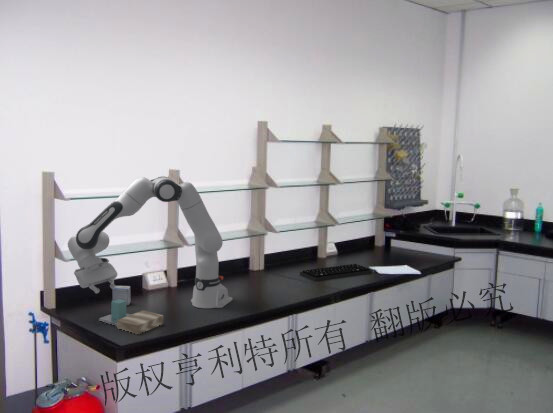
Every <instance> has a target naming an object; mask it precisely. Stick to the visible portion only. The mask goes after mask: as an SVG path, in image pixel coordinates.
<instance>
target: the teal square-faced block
mask: <svg viewBox="0 0 553 413" xmlns="http://www.w3.org/2000/svg"><path fill="white" fill-rule="evenodd" d="M110 306H111V307H110V308H111V309H110V312H111V318H114V319H118V320H119V319H121V318H124V317H126V313H127V305H126V301H124V300H120V299H118V300H115V301H113V300H111V305H110Z"/></svg>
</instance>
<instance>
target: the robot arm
mask: <svg viewBox="0 0 553 413" xmlns="http://www.w3.org/2000/svg"><path fill="white" fill-rule="evenodd" d="M152 198H156V199H157V200H159V201H160V202H164V203H170V202H177V203H178V205H179V207H180V210H181V212H182V214H183V216H184V218H185V220H186V222H187V224H188V227H189V228H190V229H191V231H192V233H193V235H194V236H193V237H194V252H195V259H196V261H195V263H196V264H195V266H196V267H195V268H196V269H195V277H194V284H195V285H194V286H193V291H192V298H191V299H190V302H191V304H192V306H193V307H195V308H199V309H222V308H224V307H225V306H226V305H227V304H230V303H231V302H232V301H233V297H231V296H229V291H228V288H227V287H226V286H224V285H223V284H222V283H221V281H223V280H224V276H223V275H219V263H220V262H219V257H218V252H219V251H220V250H221V248H222V247H223V244H224V243H223V238H222V235H221V234H220V231H219V230H218V228H217V226H216V224H215V222H214V221H213V219H212V217H211V215H210V214H209V212H208V210H207V207H206V205H205V203H204V201H203V199H202V197H201V195H200V194H199V192H198V190H197V189H196V187H195V186H194V184H192V183H191V182H181V183H179V184H178V183H176V182H175V181H174V180H173V179H171V178H169V176H158V177H156V178H154V179H149V178H147V177H143V176H140V177H137V178H136V179H135V180H134V181H132V182H131V184H129V185H128V186H127V187H126V188H125V189H124V190H123V192H122V193H121V194H120V195H119V196H118V197H117V198H116V199H115V200H114V201H112V202H111V203H110V204H109V205H107V207H105V208H104V209H103V210H102V211H101V212H100V213H98V215H97V216H96V217H95V218H94V219H93V220H92V221H91V222H89V224H87V225H84V226H83V227H81V228H80V229H79V230H78V231H77V232H76V234H73V235H72V236H71V237H70V238H69V240H68V242H67V248H68V251H69V253H70V254H71V256H72V258H73V260H75V261H76V262H77V265H78V267H79V268H77V269H75V270H74V271H73V274H74V276H75V277H76V281H77V283H78V284H79V286H80V288H82V289H86V288H89V289H90V290H92V291H93V292H94V293H95V294H99V293H100V292H101V290H100V288H99V287H97V286H96V285H99V284H103V283H106V282H108V283H110V284H109V287H110V289H111V290H113V288H115V286H116V284H115V279H116V278H117V277H118V272H117V270H116V267H114V266H113V264H111V263H110V260H109V259H108V258H106V257H99V256H97V254H99V253H101V252H103V251H104V250H106V249H107V248H108V247H109V244H110V236H109V235H108V234H107V233H106V232H104V230H105V229H106V228H107V227H109V226H110V225H111V224H112V222H114V221H115V220H117V219H119V218H123V217H131V216H133V215H135V214H136V213H138V212H139V211H140V210H141V208H143V206H144V205H145V204H146V203H147V201H149V200H150V199H152Z"/></svg>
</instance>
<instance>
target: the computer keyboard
mask: <svg viewBox="0 0 553 413" xmlns="http://www.w3.org/2000/svg"><path fill="white" fill-rule="evenodd" d="M371 274H373V269H370V268H369V267H366V266H363V265H360V264H357V263H352V264H344V265H336V266H335V265H334V266H329V267H327V266H326V267H320V268H319V267H318V268H312V269H306V270H305V269H303V270H302V271H299V276H300V277H304V278H306V279H308V280H310V281H313V282H322V281H328V280H329V281H330V280H336V279H344V278H351V277H358V276H364V275H371Z"/></svg>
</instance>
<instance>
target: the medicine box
mask: <svg viewBox="0 0 553 413" xmlns="http://www.w3.org/2000/svg"><path fill="white" fill-rule="evenodd" d="M118 299H120V300H124V301H126V306H129V305H130V304H131V286H130V285H115V288H112V301H115V300H118Z"/></svg>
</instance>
